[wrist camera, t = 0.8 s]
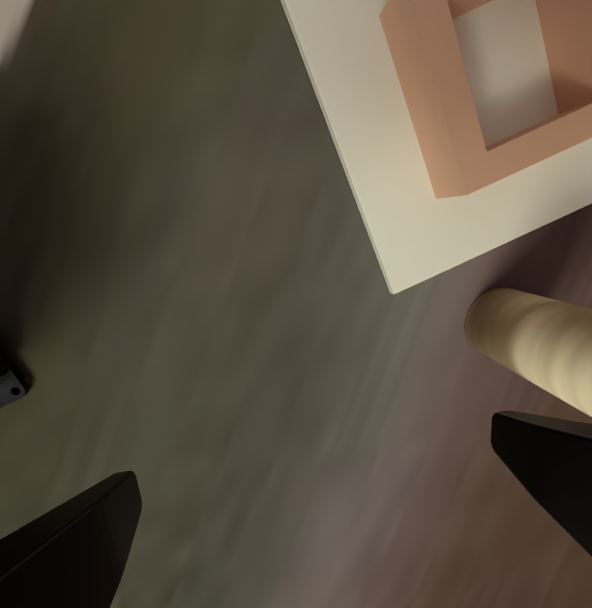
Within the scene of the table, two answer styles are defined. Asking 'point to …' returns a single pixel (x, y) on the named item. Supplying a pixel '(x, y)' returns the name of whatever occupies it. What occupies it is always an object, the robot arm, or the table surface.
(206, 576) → the table surface
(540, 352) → the birch peg
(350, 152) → the socket plate
